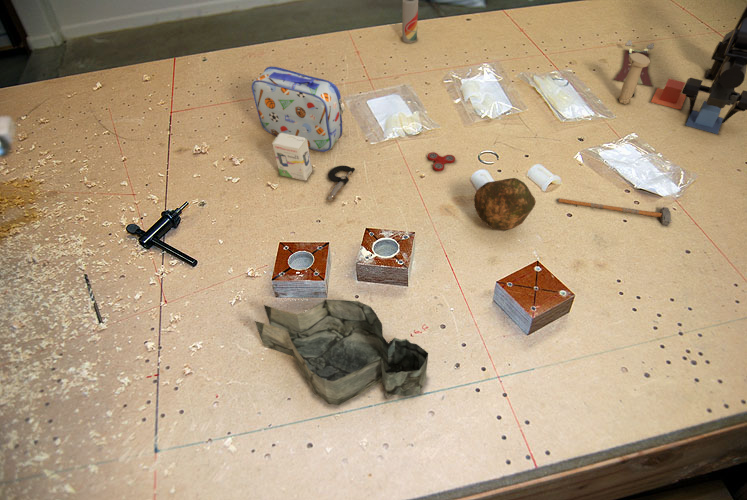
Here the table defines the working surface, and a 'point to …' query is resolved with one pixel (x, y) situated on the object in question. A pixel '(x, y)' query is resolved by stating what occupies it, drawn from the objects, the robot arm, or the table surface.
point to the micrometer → (338, 180)
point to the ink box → (292, 156)
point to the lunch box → (299, 106)
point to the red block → (672, 91)
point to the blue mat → (698, 126)
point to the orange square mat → (665, 103)
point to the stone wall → (345, 350)
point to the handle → (633, 76)
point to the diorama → (626, 65)
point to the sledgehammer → (627, 210)
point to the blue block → (707, 115)
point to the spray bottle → (409, 20)
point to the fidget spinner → (440, 160)
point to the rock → (504, 203)
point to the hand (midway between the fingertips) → (706, 118)
